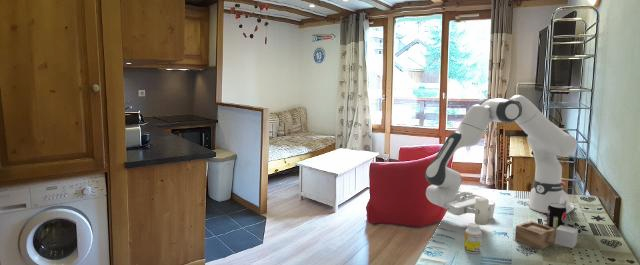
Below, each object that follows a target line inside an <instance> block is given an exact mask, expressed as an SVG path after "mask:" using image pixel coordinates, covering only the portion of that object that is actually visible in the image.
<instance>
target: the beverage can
mask: <svg viewBox="0 0 640 265" xmlns="http://www.w3.org/2000/svg"><path fill="white" fill-rule="evenodd" d="M566 211H567V210H566V206H565V205H562V204H558V203H550V204H549V206H548V213H546V214H547V216H546V224H545V226H548V227H551V228H554V229H557V228H558V227H559V226H560V225H562V226H566V220H567V214H566Z"/></svg>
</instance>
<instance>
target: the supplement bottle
mask: <svg viewBox="0 0 640 265" xmlns="http://www.w3.org/2000/svg"><path fill="white" fill-rule="evenodd" d="M464 232H465V233H464V235H465V236H464V250H465V251H466V253H469V254H472V255H473V254H474V255H477V254H479V253H480V252H481V250H482V249H481V247H482V230H481V229H480V225H478V224H476V223H475V222H469V223H467V228H466V229H465V231H464Z"/></svg>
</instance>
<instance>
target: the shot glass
mask: <svg viewBox="0 0 640 265" xmlns="http://www.w3.org/2000/svg"><path fill="white" fill-rule="evenodd" d="M489 207H490V210H489V211H488V220H490V219H491V220H492V219H493V218H494V213H495V207H496V203H495V202H494V201H491V200H489Z"/></svg>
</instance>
